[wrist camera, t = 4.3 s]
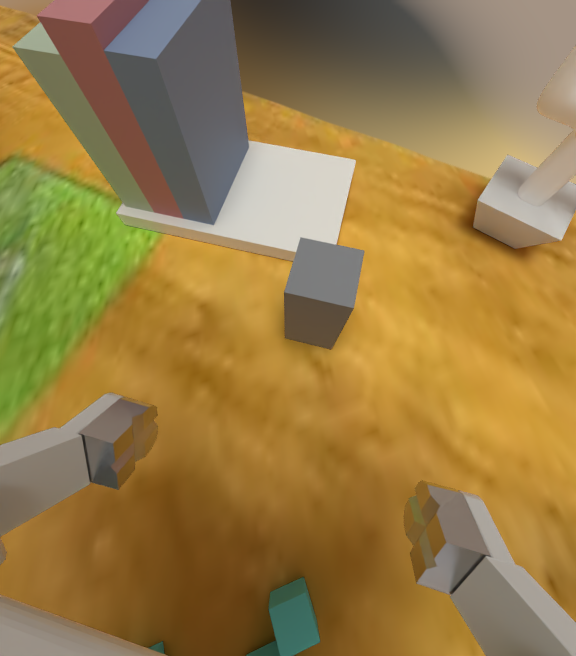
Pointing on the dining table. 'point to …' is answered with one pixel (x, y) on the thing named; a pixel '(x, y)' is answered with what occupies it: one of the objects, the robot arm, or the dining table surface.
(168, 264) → the dining table surface
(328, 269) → the bookend block
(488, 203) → the figurine
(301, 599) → the alien figure
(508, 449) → the dining table surface
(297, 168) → the shelf board
